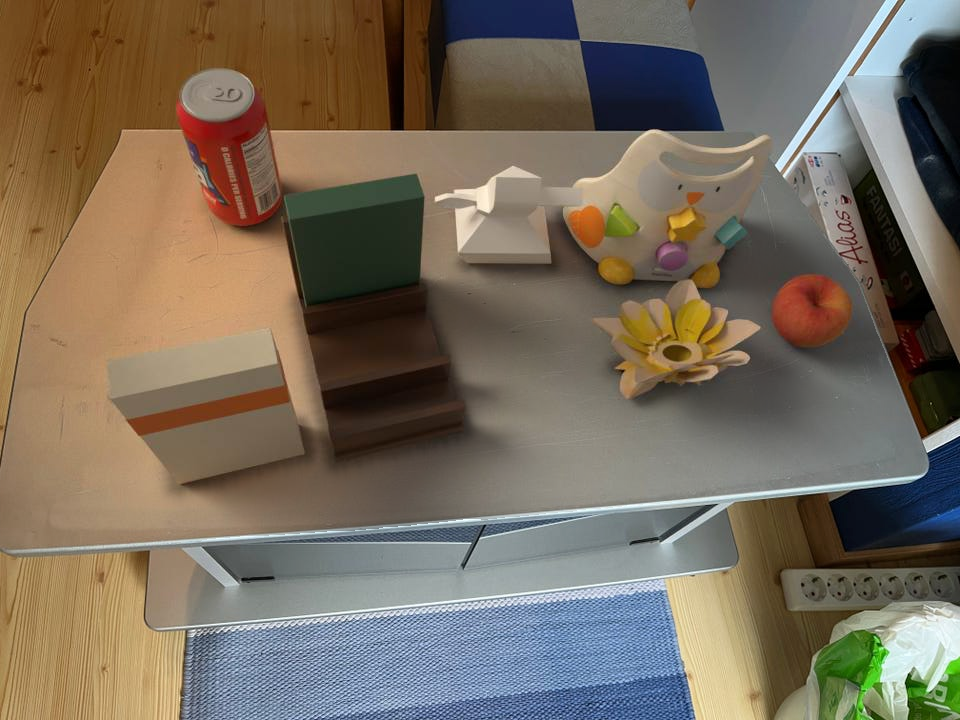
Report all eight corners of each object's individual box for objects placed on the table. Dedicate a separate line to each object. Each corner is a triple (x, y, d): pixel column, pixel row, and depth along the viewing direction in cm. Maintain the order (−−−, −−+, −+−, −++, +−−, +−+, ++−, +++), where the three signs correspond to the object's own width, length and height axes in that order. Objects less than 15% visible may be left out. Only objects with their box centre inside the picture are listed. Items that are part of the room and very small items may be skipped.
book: (305, 454, 67) (278, 364, 52) (178, 485, 65) (108, 400, 49) (299, 423, 69) (271, 326, 53) (174, 452, 66) (105, 359, 50)
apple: (838, 335, 80) (882, 295, 73) (799, 373, 77) (840, 335, 70) (785, 289, 82) (822, 246, 75) (744, 325, 79) (779, 284, 72)
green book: (419, 301, 75) (424, 196, 61) (309, 323, 72) (289, 220, 58) (412, 280, 76) (416, 172, 62) (304, 301, 73) (283, 194, 59)
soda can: (278, 233, 78) (255, 128, 65) (202, 228, 78) (163, 121, 64) (287, 176, 82) (267, 65, 69) (214, 171, 81) (179, 58, 68)
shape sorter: (569, 287, 79) (612, 172, 63) (561, 208, 84) (599, 84, 68) (746, 292, 81) (831, 182, 65) (728, 215, 86) (803, 96, 70)
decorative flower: (712, 277, 79) (755, 241, 69) (748, 378, 77) (797, 355, 67) (580, 309, 77) (606, 276, 67) (613, 414, 75) (644, 395, 65)
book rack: (462, 431, 70) (476, 368, 58) (336, 462, 67) (323, 402, 56) (413, 276, 78) (417, 192, 66) (298, 298, 75) (280, 215, 63)
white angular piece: (430, 209, 82) (436, 115, 70) (554, 210, 83) (582, 119, 71) (433, 273, 78) (440, 185, 66) (563, 273, 80) (594, 188, 68)
